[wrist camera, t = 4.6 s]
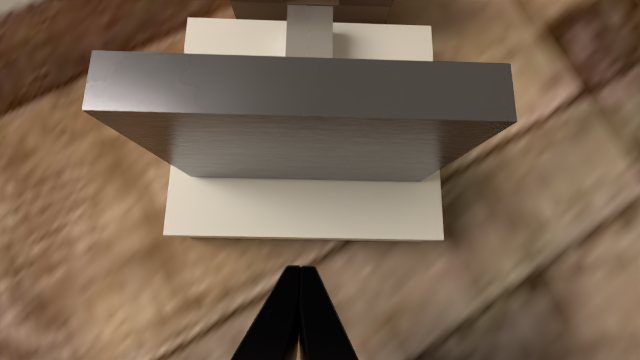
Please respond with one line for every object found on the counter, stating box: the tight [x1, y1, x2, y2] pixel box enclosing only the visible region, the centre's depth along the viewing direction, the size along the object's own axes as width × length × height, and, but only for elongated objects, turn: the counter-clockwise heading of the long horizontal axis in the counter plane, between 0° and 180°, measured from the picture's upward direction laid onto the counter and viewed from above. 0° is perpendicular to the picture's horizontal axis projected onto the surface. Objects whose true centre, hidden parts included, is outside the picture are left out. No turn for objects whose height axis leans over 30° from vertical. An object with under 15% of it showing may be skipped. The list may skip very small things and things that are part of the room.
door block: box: [163, 18, 444, 242], centre depth 17 cm, size 10×12×3 cm
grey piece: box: [82, 5, 517, 182], centre depth 12 cm, size 8×10×7 cm
